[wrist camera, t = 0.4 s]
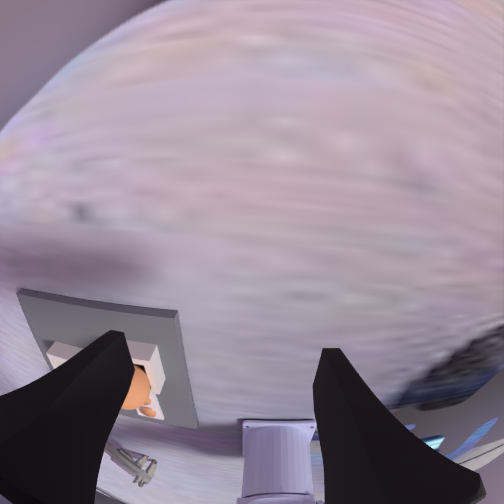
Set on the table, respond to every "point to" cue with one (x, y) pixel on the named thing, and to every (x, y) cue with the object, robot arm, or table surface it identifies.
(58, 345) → the hollow rectangular frame
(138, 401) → the ball
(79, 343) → the mat
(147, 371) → the tube
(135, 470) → the caliper
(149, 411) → the card
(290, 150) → the table surface
